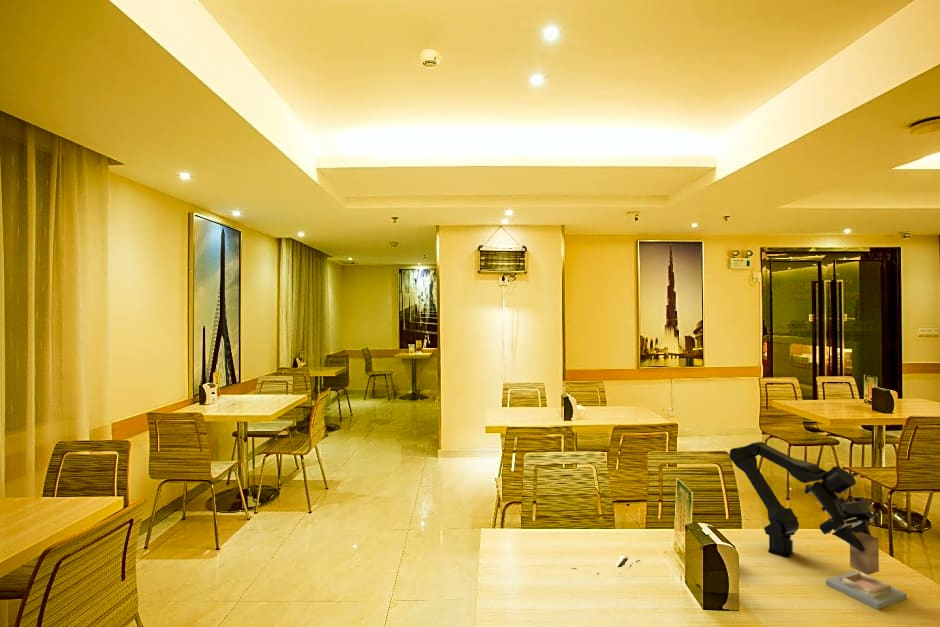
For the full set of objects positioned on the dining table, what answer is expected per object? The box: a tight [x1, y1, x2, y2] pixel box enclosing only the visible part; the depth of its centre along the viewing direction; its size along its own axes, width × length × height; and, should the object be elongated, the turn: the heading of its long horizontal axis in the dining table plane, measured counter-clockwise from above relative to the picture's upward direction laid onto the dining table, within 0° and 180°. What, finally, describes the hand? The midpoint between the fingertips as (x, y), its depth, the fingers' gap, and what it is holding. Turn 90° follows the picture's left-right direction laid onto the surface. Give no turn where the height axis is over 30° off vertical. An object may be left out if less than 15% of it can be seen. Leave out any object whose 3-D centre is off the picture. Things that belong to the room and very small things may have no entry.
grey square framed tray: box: [825, 570, 908, 610], centre depth 146 cm, size 14×14×3 cm
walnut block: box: [849, 532, 880, 576], centre depth 146 cm, size 5×5×10 cm
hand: (869, 549), depth 145 cm, fingers closed on walnut block, 5 cm apart
